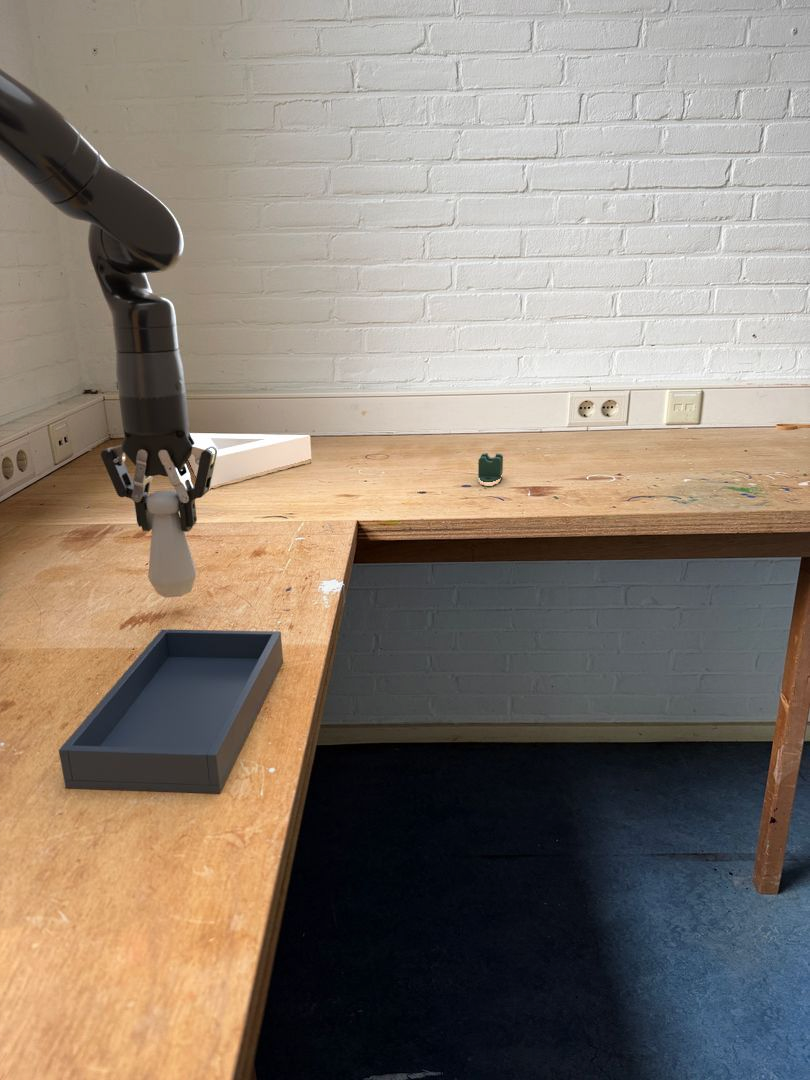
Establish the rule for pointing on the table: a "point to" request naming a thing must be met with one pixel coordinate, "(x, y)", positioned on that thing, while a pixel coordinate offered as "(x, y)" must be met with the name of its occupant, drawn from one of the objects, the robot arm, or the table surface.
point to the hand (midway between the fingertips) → (167, 529)
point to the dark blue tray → (176, 714)
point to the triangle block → (250, 453)
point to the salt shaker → (169, 547)
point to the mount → (490, 467)
